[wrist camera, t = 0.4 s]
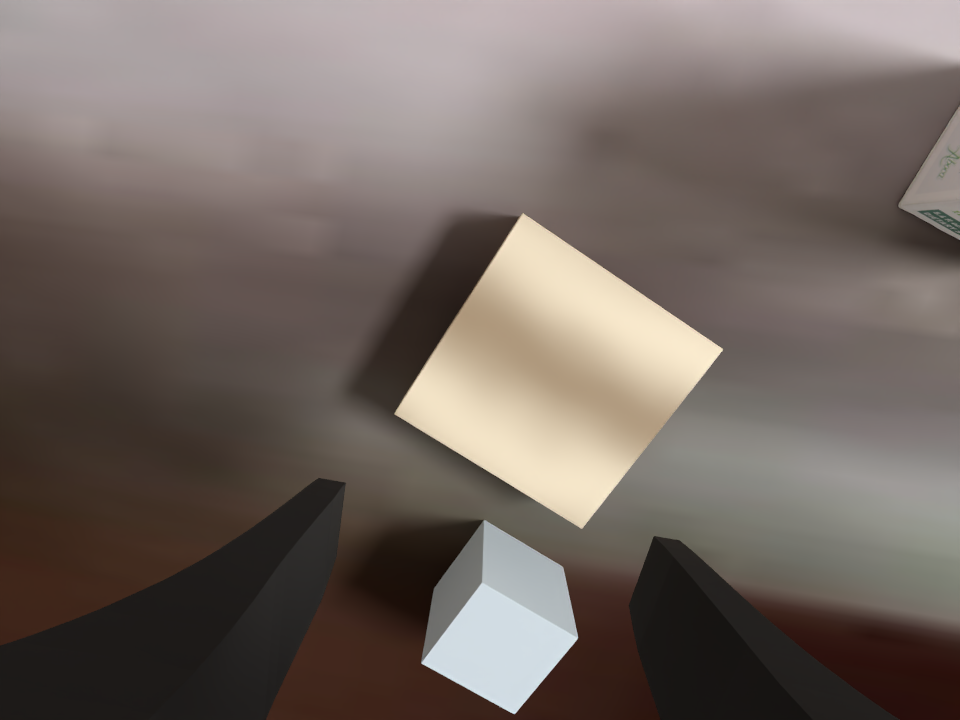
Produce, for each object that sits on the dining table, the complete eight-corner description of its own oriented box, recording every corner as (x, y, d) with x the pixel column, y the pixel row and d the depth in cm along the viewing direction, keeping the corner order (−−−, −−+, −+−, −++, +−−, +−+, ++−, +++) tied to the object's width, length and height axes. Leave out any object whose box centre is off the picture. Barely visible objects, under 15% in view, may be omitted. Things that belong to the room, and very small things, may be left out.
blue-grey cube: (510, 631, 25) (514, 714, 21) (434, 587, 25) (421, 663, 20) (562, 565, 24) (578, 637, 20) (484, 518, 24) (482, 582, 19)
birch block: (571, 492, 24) (581, 528, 21) (406, 391, 23) (394, 413, 20) (692, 334, 22) (723, 349, 19) (519, 217, 21) (522, 213, 18)
